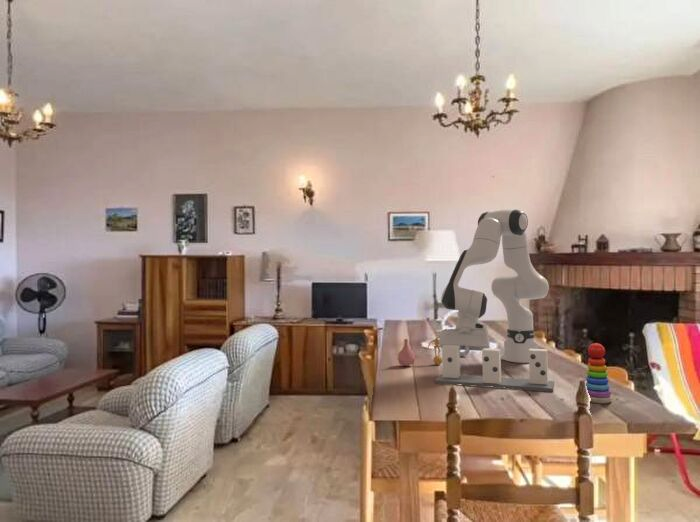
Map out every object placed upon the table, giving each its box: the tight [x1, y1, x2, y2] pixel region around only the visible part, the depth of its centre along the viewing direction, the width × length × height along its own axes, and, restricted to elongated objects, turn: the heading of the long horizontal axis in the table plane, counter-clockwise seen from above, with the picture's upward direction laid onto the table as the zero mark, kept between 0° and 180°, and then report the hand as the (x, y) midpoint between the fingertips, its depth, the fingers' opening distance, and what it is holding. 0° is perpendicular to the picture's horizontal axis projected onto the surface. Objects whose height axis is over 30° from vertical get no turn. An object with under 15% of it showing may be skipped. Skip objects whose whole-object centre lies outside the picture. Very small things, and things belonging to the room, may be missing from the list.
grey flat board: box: [434, 373, 555, 393], centre depth 192 cm, size 12×42×1 cm, turn 66°
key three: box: [528, 348, 549, 385], centre depth 186 cm, size 4×6×12 cm
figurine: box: [427, 337, 442, 366], centre depth 231 cm, size 8×6×12 cm
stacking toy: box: [585, 342, 613, 404], centre depth 166 cm, size 8×8×19 cm
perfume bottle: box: [397, 338, 416, 367], centre depth 228 cm, size 8×8×12 cm
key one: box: [441, 345, 461, 378], centre depth 199 cm, size 4×6×12 cm
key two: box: [481, 347, 502, 384], centre depth 189 cm, size 4×6×12 cm
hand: (461, 357), depth 204 cm, fingers closed
